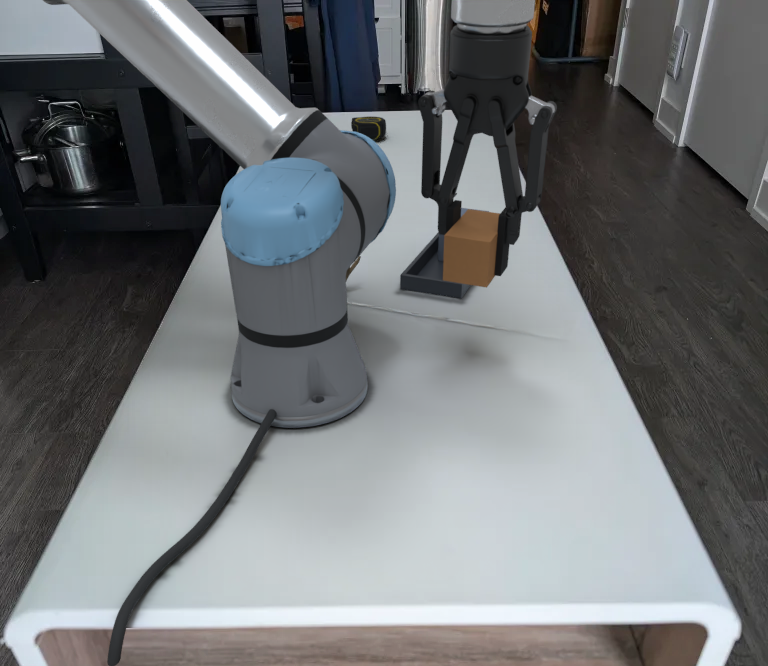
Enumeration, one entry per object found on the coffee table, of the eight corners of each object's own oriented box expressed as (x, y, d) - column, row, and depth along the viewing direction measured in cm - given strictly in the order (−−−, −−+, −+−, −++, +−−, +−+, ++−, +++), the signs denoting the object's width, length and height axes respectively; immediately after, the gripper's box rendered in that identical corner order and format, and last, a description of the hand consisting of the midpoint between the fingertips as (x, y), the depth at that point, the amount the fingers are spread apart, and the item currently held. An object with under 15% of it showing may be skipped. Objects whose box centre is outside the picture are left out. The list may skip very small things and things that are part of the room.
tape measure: (384, 133, 165) (384, 113, 162) (387, 142, 159) (387, 122, 157) (351, 134, 164) (350, 115, 162) (353, 144, 159) (352, 124, 157)
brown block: (486, 287, 85) (490, 242, 82) (442, 280, 86) (444, 235, 83) (507, 258, 91) (511, 214, 87) (465, 252, 92) (468, 208, 89)
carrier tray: (461, 302, 106) (461, 284, 104) (400, 292, 108) (400, 274, 107) (501, 246, 120) (502, 229, 118) (446, 238, 122) (446, 222, 121)
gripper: (598, 22, 73) (564, 265, 88) (414, 12, 78) (412, 242, 94) (580, 38, 68) (547, 294, 83) (385, 26, 73) (388, 268, 88)
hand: (476, 266), depth 88 cm, fingers closed on brown block, 5 cm apart
